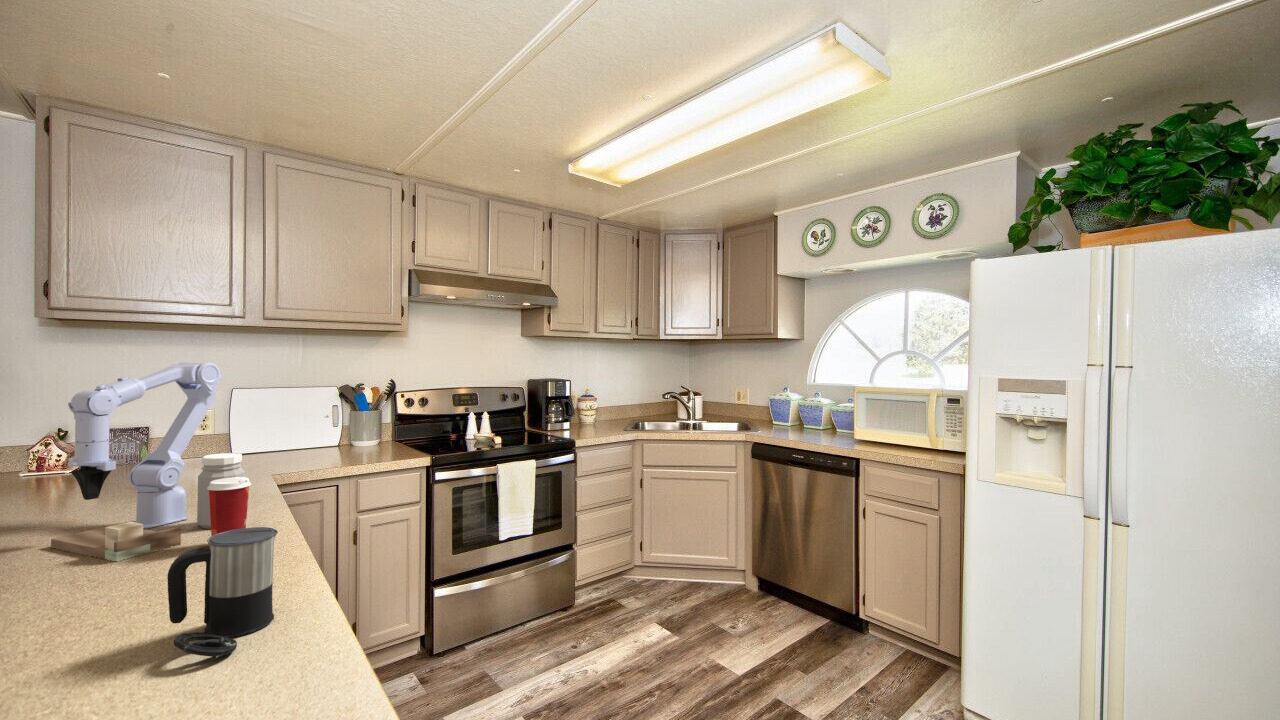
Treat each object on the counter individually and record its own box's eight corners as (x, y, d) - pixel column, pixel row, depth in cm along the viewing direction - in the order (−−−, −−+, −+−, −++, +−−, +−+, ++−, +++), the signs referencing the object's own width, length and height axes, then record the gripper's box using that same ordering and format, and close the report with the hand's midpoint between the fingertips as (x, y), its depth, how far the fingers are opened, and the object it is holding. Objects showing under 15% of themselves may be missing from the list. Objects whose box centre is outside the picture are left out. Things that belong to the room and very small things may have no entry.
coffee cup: (258, 539, 130) (259, 477, 130) (229, 551, 122) (230, 484, 122) (226, 537, 131) (227, 475, 131) (195, 549, 123) (196, 483, 123)
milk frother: (265, 607, 95) (267, 522, 95) (297, 637, 85) (299, 542, 85) (158, 638, 84) (159, 542, 84) (179, 677, 74) (181, 568, 74)
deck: (116, 532, 134) (117, 516, 134) (180, 544, 126) (180, 527, 126) (50, 547, 123) (51, 530, 123) (116, 561, 115) (116, 543, 115)
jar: (187, 527, 139) (188, 457, 139) (226, 517, 148) (227, 451, 148) (215, 531, 136) (216, 459, 136) (253, 520, 145) (254, 453, 145)
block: (130, 541, 121) (130, 521, 121) (142, 544, 120) (143, 524, 120) (104, 548, 117) (105, 527, 117) (117, 550, 116) (118, 529, 116)
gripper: (51, 441, 126) (50, 499, 126) (88, 445, 122) (87, 505, 121) (90, 437, 133) (89, 493, 133) (127, 441, 128) (126, 498, 128)
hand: (91, 498), depth 128 cm, fingers closed
